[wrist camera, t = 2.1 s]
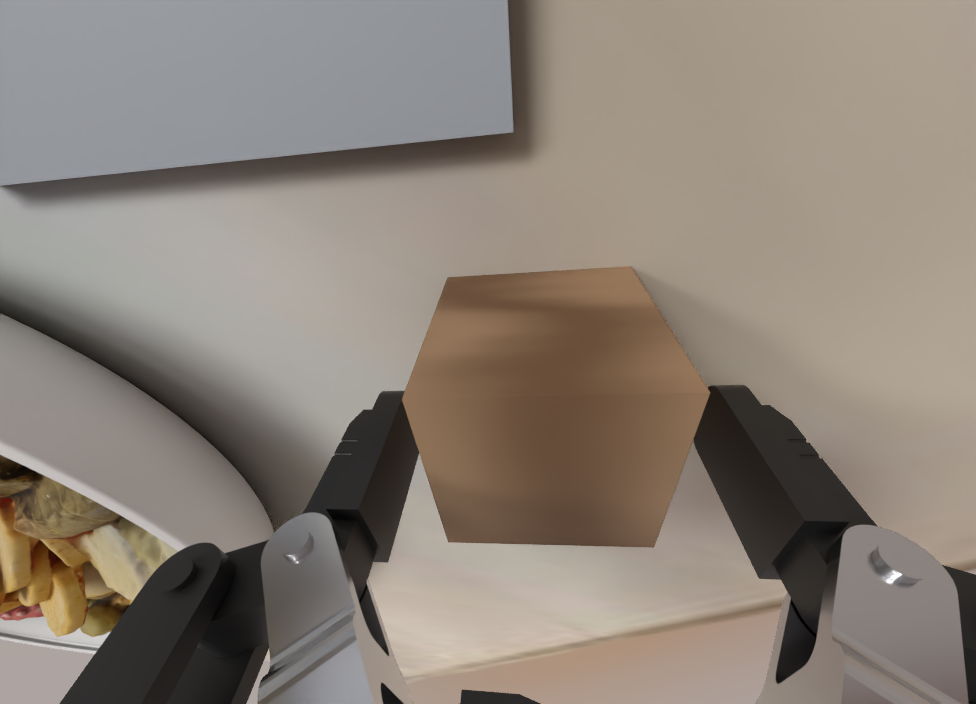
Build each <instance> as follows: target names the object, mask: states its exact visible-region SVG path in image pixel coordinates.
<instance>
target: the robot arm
mask: <svg viewBox="0 0 976 704" xmlns="http://www.w3.org/2000/svg"><path fill="white" fill-rule="evenodd" d="M708 390H709V391H710V395H709V398H708V401H707V403H706V406H705V409H704V411H703V414H702V417H701V420H700V422H699V425H698V428H697V431H696V433H695V436H694V444H695V447H696V449H697V452H698V454H699V456H700V458H701V460H702V462H703V464H704V466H705V468H706V470H707V472H708V474H709V476H710V478H711V481H712V483H713V485H714V487H715V489H716V491H717V493H718V495H719V497H720V499H721V501H722V503H723V505H724V507H725V509H726V511H727V513H728V516H729V518H730V520H731V522H732V524H733V526H734V528H735V530H736V532H737V534H738V536H739V538H740V540H741V542H742V544H743V546H744V549H745V551H746V553H747V555H748V557H749V559H750V561H751V563H752V565H753V567H754V569H755V571H756V573H757V575H758V577H759V579H781V580H782V582H783V584H784V586H785V588H786V590H787V591H788V593H787V594H786V595H785V597H784V600H783V604H782V608H781V613H780V618H779V622H778V627H777V631H776V636H775V641H774V645H773V651H772V655H771V659H770V664H769V668H768V673H767V678H766V681H765V685H764V687H763V690H762V692H761V694H760V696H759V698H758V699H757V701H756V703H755V704H976V575H974V574H971V573H968V572H964V571H961V570H957V569H954V568H950V567H947V566H944V565H941V564H940V563H939V562H938V561H937V560H936V559H935V558H934V557H933V556H932V555H931V554H930V553H928V552H927V551H926V550H925V549H923V548H922V547H920V546H919V545H918V544H916V543H915V542H913V541H911V540H909V539H908V538H906V537H904V536H902V535H900V534H898V533H896V532H893V531H891V530H888V529H885V528H882V527H878V526H877V525H876V524H875V523H874V522H873V520H872V519H871V518H870V517H869V516H868V514H867V513H866V512H865V511H864V510H863V508H862V507H861V506H860V505H859V503H858V502H857V501H856V500H855V498H854V497H853V496H852V495H851V494H850V492H849V491H848V490H847V489H846V487H845V486H844V485H843V484H842V483H841V481H840V480H839V479H838V478H837V476H836V475H835V474H834V473H833V471H832V470H831V469H830V468H829V467H828V465H827V464H826V463H825V462H824V460H823V459H820V458H819V456H818V455H819V454H818V453H817V452H816V451H815V449H814V448H813V447H812V446H811V444H810V443H807V442H806V438H805V437H804V436H803V435H802V433H801V432H800V431H799V430H798V428H797V427H796V426H795V425H794V424H793V422H792V421H791V420H789V419H788V418H787V417H785V416H784V415H782V414H781V413H780V412H778V411H777V410H775V409H774V408H773V407H771V406H770V405H761V404H760V403H759V401H758V400H757V399H756V397H755V396H754V395H753V393H752V392H751V391H750V390H749V388H747V387H746V386H744V385H721V386H709V387H708ZM404 392H405V391H383V392H381V393H380V394H379V396H378V398H377V400H376V402H375V405H374V407H373V409H372V410H363V411H362V412H361V413H360V414H359V415H358V416H357V417H356V418H355V419H354V420H353V421H352V422H351V423H350V424H349V426H348V428H347V430H346V432H345V434H344V436H343V438H342V442H341V443H339V445H338V447H337V449H336V451H335V456H333V457H332V459H331V461H330V463H329V465H328V467H327V469H326V471H325V472H324V474H323V476H322V478H321V480H320V482H319V484H318V486H317V488H316V490H315V492H314V494H313V496H312V498H311V500H310V502H309V503H308V505H307V507H306V509H305V511H304V512H303V513H302V514H301V515H298V516H296V517H294V518H292V519H290V520H289V521H287V522H286V523H284V524H283V525H282V526H281V527H279V528H278V529H277V530H276V531H275V533H274V534H273V535H272V536H271V537H270V539H269V540H266V541H264V542H260V543H257V544H254V545H250V546H247V547H244V548H240V549H237V550H234V551H230V552H227V553H224V552H223V551H222V550H220V549H219V548H218V547H217V546H216V545H214V544H212V543H205V542H204V543H197V544H194V545H191V546H188V547H186V548H184V549H182V550H180V551H179V552H177V553H175V554H174V555H172V556H171V557H170V558H168V559H167V560H166V561H165V562H164V563H163V564H161V565H160V566H159V567H158V568H157V569H156V571H155V572H154V573H153V574H152V575H151V577H150V578H149V579H148V580H147V582H146V583H145V585H144V586H143V587H142V589H141V590H140V592H139V593H138V594H137V596H136V597H135V599H134V600H133V602H132V603H131V604H130V606H129V607H128V609H127V610H126V611H125V613H124V614H123V616H122V617H121V618H120V620H119V621H118V623H117V624H116V625H115V627H114V628H113V630H112V631H111V632H110V634H109V635H108V637H107V638H106V639H105V641H104V642H103V644H102V645H101V646H100V648H99V649H98V651H97V652H96V653H95V655H94V656H93V658H92V659H91V660H90V662H89V663H88V665H87V666H86V667H85V669H84V670H83V672H82V673H81V674H80V676H79V677H78V679H77V680H76V682H75V683H74V684H73V686H72V687H71V688H70V690H69V691H68V693H67V694H66V695H65V697H64V698H63V700H62V701H61V703H60V704H246V703H247V700H248V698H249V695H250V693H251V691H252V688H253V686H254V683H255V681H256V678H257V676H258V673H259V671H260V668H261V666H262V664H263V661H264V659H265V656H266V654H267V651H268V649H269V651H270V669H269V672H268V674H267V675H265V676H264V677H263V678H262V680H261V682H260V685H259V690H258V704H414V703H413V700H412V698H411V694H410V692H409V689H408V686H407V684H406V682H405V679H404V677H403V675H402V673H401V671H400V669H399V667H398V664H397V662H396V660H395V657H394V654H393V652H392V649H391V646H390V643H389V640H388V637H387V634H386V631H385V628H384V625H383V622H382V619H381V616H380V613H379V610H378V607H377V604H376V601H375V598H374V595H373V592H372V589H371V586H370V583H369V580H368V576H369V573H370V570H371V567H372V564H373V562H388V560H389V557H390V553H391V550H392V546H393V543H394V539H395V536H396V532H397V529H398V525H399V522H400V518H401V515H402V511H403V508H404V504H405V501H406V497H407V494H408V490H409V486H410V483H411V479H412V476H413V472H414V469H415V465H416V462H417V458H418V455H419V450H418V447H417V444H416V441H415V438H414V435H413V432H412V429H411V426H410V423H409V420H408V417H407V413H406V410H405V407H404V404H403V401H402V398H403V395H404ZM460 704H540V703H538V702H535V701H533V700H531V699H529V698H526V697H524V696H522V695H520V694H509V693H497V692H496V693H495V692H485V691H472V690H462V693H461V703H460Z"/></svg>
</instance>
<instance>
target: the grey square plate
mask: <svg viewBox="0 0 976 704" xmlns="http://www.w3.org/2000/svg"><path fill="white" fill-rule="evenodd" d="M512 132H514V122H513V99H512V77H511V54H510V32H509V10H508V0H0V186H2V185H11V184H21V183H31V182H40V181H50V180H59V179H69V178H79V177H88V176H98V175H108V174H117V173H127V172H136V171H146V170H156V169H165V168H175V167H184V166H194V165H204V164H213V163H223V162H233V161H242V160H252V159H261V158H271V157H281V156H290V155H300V154H310V153H319V152H329V151H338V150H348V149H358V148H367V147H377V146H386V145H396V144H406V143H415V142H425V141H435V140H444V139H454V138H463V137H473V136H483V135H492V134H502V133H512Z"/></svg>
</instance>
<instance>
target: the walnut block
mask: <svg viewBox="0 0 976 704" xmlns="http://www.w3.org/2000/svg"><path fill="white" fill-rule="evenodd" d="M709 395H710V391H709V390H708V388H707V387H706V385H705V383H704V382H703V380H702V379H701V377H700V375H699V374H698V372H697V371H696V369H695V367H694V366H693V364H692V363H691V361H690V359H689V358H688V356H687V355H686V353H685V351H684V350H683V348H682V347H681V345H680V343H679V342H678V340H677V339H676V337H675V336H674V334H673V332H672V331H671V329H670V328H669V326H668V324H667V323H666V321H665V320H664V318H663V316H662V315H661V313H660V312H659V310H658V308H657V307H656V305H655V304H654V302H653V300H652V299H651V297H650V296H649V294H648V292H647V291H646V289H645V288H644V286H643V284H642V283H641V281H640V280H639V278H638V277H637V275H636V273H635V272H634V270H633V269H632V267H614V268H598V269H581V270H564V271H548V272H531V273H515V274H498V275H482V276H465V277H449V278H447V281H446V283H445V286H444V289H443V291H442V294H441V297H440V299H439V302H438V305H437V307H436V310H435V313H434V315H433V318H432V321H431V323H430V326H429V329H428V331H427V334H426V337H425V339H424V342H423V344H422V347H421V350H420V352H419V355H418V358H417V360H416V363H415V366H414V368H413V371H412V374H411V376H410V379H409V382H408V384H407V387H406V390H405V392H404V395H403V398H402V401H403V404H404V407H405V410H406V413H407V417H408V420H409V423H410V426H411V429H412V432H413V435H414V438H415V441H416V444H417V447H418V450H419V453H420V456H421V460H422V463H423V466H424V469H425V472H426V475H427V478H428V481H429V484H430V487H431V490H432V493H433V496H434V500H435V503H436V506H437V509H438V512H439V515H440V518H441V521H442V524H443V527H444V530H445V533H446V536H447V539H448V542H461V543H501V544H541V545H581V546H621V547H654V546H655V543H656V540H657V537H658V535H659V532H660V529H661V526H662V524H663V521H664V518H665V516H666V513H667V510H668V507H669V505H670V502H671V499H672V496H673V494H674V491H675V488H676V485H677V483H678V480H679V477H680V474H681V472H682V469H683V466H684V464H685V461H686V458H687V455H688V453H689V450H690V447H691V444H692V442H693V439H694V436H695V433H696V431H697V428H698V425H699V422H700V420H701V417H702V414H703V411H704V409H705V406H706V403H707V401H708V398H709Z"/></svg>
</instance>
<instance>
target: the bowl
mask: <svg viewBox="0 0 976 704" xmlns="http://www.w3.org/2000/svg"><path fill="white" fill-rule="evenodd" d="M273 534H274V530H273V527H272V525H271V522H270V519H269V517H268V515H267V513H266V511H265V509H264V507H263V505H262V504H261V502H260V500H259V499H258V497H257V496H256V494H255V493H254V491H253V490H252V489H251V487H250V486H249V484H248V483H247V482H246V481H245V479H244V478H243V477H242V476H241V474H240V473H239V472H238V471H237V470H236V469H235V468H234V466H233V465H232V464H231V463H230V462H229V461H228V460H227V459H226V458H225V457H224V456H223V455H222V454H221V453H220V452H219V451H218V450H217V449H216V448H215V447H214V446H212V445H211V444H210V443H209V442H208V441H207V440H206V439H205V438H204V437H203V436H201V435H200V434H199V433H198V432H197V431H195V430H194V429H193V428H192V427H191V426H189V425H188V424H187V423H186V422H184V421H183V420H182V419H181V418H179V417H178V416H177V415H175V414H174V413H173V412H171V411H170V410H169V409H167V408H166V407H165V406H163V405H162V404H160V403H159V402H158V401H156V400H155V399H153V398H152V397H150V396H149V395H147V394H146V393H145V392H143V391H142V390H140V389H139V388H137V387H136V386H134V385H133V384H131V383H129V382H128V381H126V380H125V379H123V378H121V377H120V376H118V375H117V374H115V373H113V372H112V371H110V370H108V369H107V368H105V367H103V366H102V365H100V364H98V363H96V362H95V361H93V360H91V359H90V358H88V357H86V356H84V355H82V354H81V353H79V352H77V351H75V350H73V349H71V348H70V347H68V346H66V345H64V344H62V343H60V342H58V341H56V340H54V339H52V338H50V337H48V336H47V335H45V334H43V333H41V332H39V331H37V330H35V329H33V328H30V327H28V326H26V325H24V324H22V323H20V322H18V321H16V320H14V319H12V318H9V317H7V316H5V315H3V314H1V313H0V639H3V640H7V641H13V642H18V643H24V644H30V645H35V646H41V647H48V648H54V649H60V650H67V651H74V652H82V653H89V654H95V653H96V652H97V651H98V649H99V648H100V646H101V645H102V644H103V642H104V641H105V639H106V638H107V637H108V635H109V634H110V632H111V631H112V630H113V628H114V627H115V625H116V624H117V623H118V621H119V620H120V618H121V617H122V616H123V614H124V613H125V611H126V610H127V609H128V607H129V606H130V604H131V603H132V602H133V600H134V599H135V597H136V596H137V594H138V593H139V592H140V590H141V589H142V587H143V586H144V585H145V583H146V582H147V580H148V579H149V578H150V577H151V575H152V574H153V573H154V572H155V571H156V569H157V568H158V567H159V566H160V565H161V564H163V563H164V562H165V561H166V560H167V559H168V558H170V557H171V556H172V555H174V554H175V553H177V552H179V551H180V550H182V549H184V548H186V547H188V546H191V545H194V544H197V543H204V542H205V543H212V544H214V545H216V546H217V547H218V548H219V549H220V550H222V551H223V552H224V553H227V552H230V551H234V550H237V549H240V548H244V547H247V546H250V545H254V544H257V543H260V542H264V541H266V540H269V539H270V537H271V536H272V535H273Z"/></svg>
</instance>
